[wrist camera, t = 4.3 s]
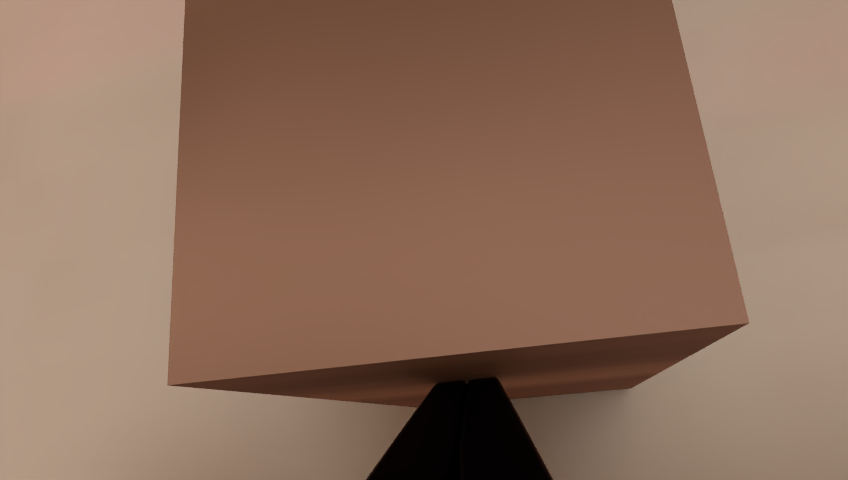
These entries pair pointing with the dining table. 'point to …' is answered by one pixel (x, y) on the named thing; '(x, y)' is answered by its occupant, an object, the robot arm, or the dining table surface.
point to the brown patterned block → (441, 199)
